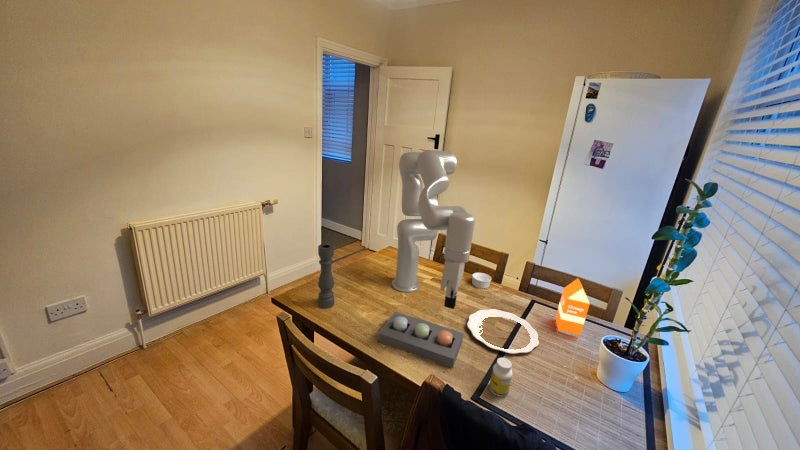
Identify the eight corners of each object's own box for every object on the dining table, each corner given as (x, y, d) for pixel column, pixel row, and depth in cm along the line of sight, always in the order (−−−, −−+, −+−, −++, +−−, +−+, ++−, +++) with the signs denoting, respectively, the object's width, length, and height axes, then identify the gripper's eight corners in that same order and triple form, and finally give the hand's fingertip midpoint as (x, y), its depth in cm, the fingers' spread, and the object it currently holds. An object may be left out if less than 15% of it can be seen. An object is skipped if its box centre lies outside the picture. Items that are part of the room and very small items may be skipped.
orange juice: (556, 332, 118) (569, 285, 112) (554, 319, 126) (566, 275, 120) (579, 338, 116) (594, 290, 110) (576, 324, 124) (589, 279, 118)
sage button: (417, 328, 110) (418, 321, 109) (430, 333, 108) (431, 325, 107) (412, 336, 106) (413, 329, 105) (425, 341, 104) (426, 333, 103)
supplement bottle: (486, 382, 93) (491, 355, 90) (503, 382, 93) (509, 355, 90) (492, 397, 88) (498, 369, 85) (511, 397, 88) (518, 369, 85)
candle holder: (330, 310, 121) (330, 250, 113) (315, 307, 122) (314, 248, 114) (336, 301, 127) (337, 244, 119) (322, 299, 128) (321, 242, 120)
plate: (535, 322, 124) (536, 318, 123) (540, 366, 101) (541, 361, 101) (471, 307, 131) (471, 303, 130) (462, 344, 108) (463, 340, 108)
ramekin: (475, 278, 155) (476, 270, 154) (492, 284, 151) (494, 276, 149) (467, 285, 149) (469, 276, 147) (485, 291, 144) (487, 283, 142)
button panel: (394, 319, 119) (395, 311, 118) (462, 341, 110) (463, 332, 108) (377, 341, 106) (378, 333, 105) (452, 368, 97) (454, 359, 96)
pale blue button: (396, 322, 113) (397, 315, 112) (408, 326, 111) (409, 318, 110) (390, 329, 109) (391, 322, 108) (403, 333, 107) (404, 326, 106)
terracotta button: (439, 335, 107) (440, 328, 106) (452, 340, 106) (454, 332, 105) (435, 344, 103) (436, 336, 102) (449, 349, 101) (450, 341, 100)
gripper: (450, 243, 102) (444, 292, 108) (437, 259, 89) (431, 315, 94) (473, 248, 99) (466, 298, 105) (464, 265, 86) (455, 322, 92)
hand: (449, 306), depth 100 cm, fingers closed
